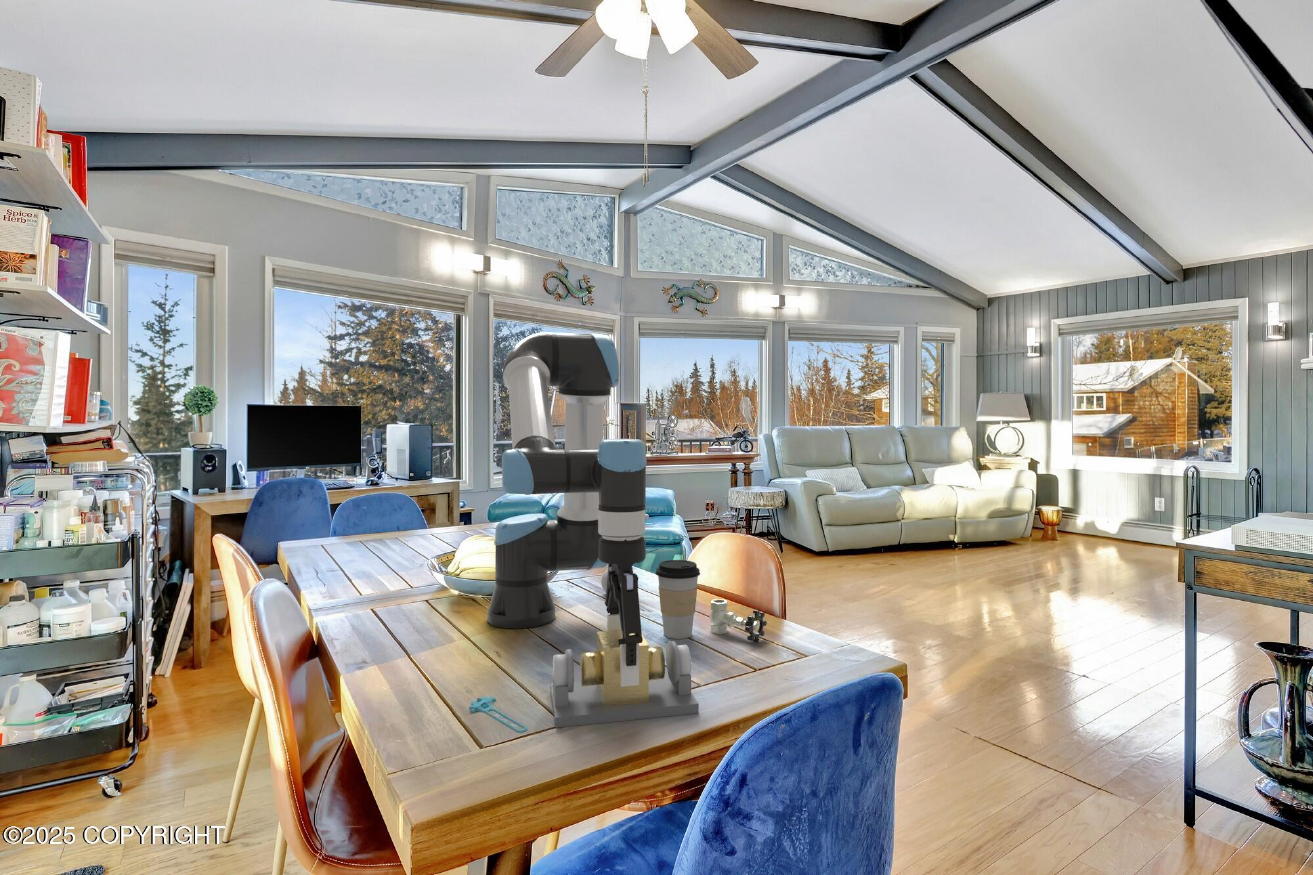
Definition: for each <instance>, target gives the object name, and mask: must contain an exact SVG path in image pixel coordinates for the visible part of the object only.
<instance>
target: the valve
mask: <svg viewBox="0 0 1313 875" xmlns="http://www.w3.org/2000/svg"><path fill="white" fill-rule="evenodd" d="M752 614H754V615H753V616H752V615H748V616H747V618H746V619H745V618H744V617H740V616H738V615H737V614H736V613H735V612H732V611H728V600H727V599H722V598H721V599H720V598H715V599H711V603H710V611H709V621H710V623H711V624H710V632H711V633H712V634H716V635H721V634H727V632H728V627H729V628H734V627H735V626H737V627H741V628H744V627H745V628H744V631H745V632H746V633H749V635H747V637H746V640H748V641H750V642H753V643H754V642H755V643H759V642H760V636H761V637H764V636H765V633H766V632H765V631H764V627H767V624H768V622H767V620H764V618H765V616H766V613H765V612H764V611H760V610H758V609H753V611H752ZM754 631H757V632H756V633H755V632H754Z"/></svg>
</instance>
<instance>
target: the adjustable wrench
mask: <svg viewBox="0 0 1313 875" xmlns="http://www.w3.org/2000/svg"><path fill="white" fill-rule="evenodd" d="M496 701H497V699H496V697H489V696H480V697H477V698H476V700H471V702H470V703H471V704H470V706H469V707H468V709H469V711H470V713H473V714H475V713H476V712H481V713H484V714H486V715H488V716H490V717H491V718H493V719H495V720H497V722H500V723H502V725H505V726H507V727H508V728H510V729H511V730H513V731H515V732H516V733H525V732H527V731H528V727H527V726H526V725H524V724H522V723H520V722H519V721H516V720H515V719H513V718H511V717H510V716H508V715H506V714H504V712H501V711H500V710H498V709H496V708H495V707H494V706H493V703H494V702H496ZM491 712H495V713H496V714H493V713H491ZM518 726H519V727H521V730H520V729H518V728H516V727H518Z"/></svg>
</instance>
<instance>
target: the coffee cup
mask: <svg viewBox="0 0 1313 875" xmlns="http://www.w3.org/2000/svg"><path fill="white" fill-rule="evenodd" d="M697 566H698V565H697V563H696V562H695V561H691V560H687V559H686V560H685V559H669V560H663V561H661V562H659V563H658V567H657V568H656V570H655V575H656V576H657V577H658V596H659V604H660V613H661V618H662V630H663V635H664V636H665V637H666V638H669V639H672V640H682V639H683V640H684V639H688V638H691V637H692V635H693V628H694V618H695V613H696V605H697V604H696V603H697V596H698V578H699V577H700V575H701V572H700V571H701V570H700V568H699V567H697Z"/></svg>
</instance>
